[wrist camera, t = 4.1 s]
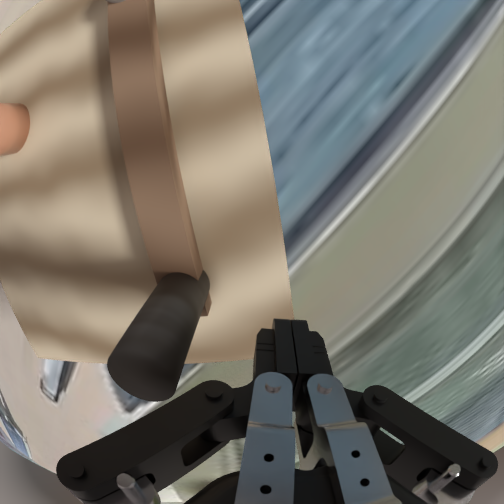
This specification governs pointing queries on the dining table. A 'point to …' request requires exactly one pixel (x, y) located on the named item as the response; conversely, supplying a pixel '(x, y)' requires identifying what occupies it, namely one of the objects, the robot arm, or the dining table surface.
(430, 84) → the dining table surface
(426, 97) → the dining table surface
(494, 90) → the dining table surface
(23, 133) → the peach rounded cube
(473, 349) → the dining table surface
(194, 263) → the lever
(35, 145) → the board
